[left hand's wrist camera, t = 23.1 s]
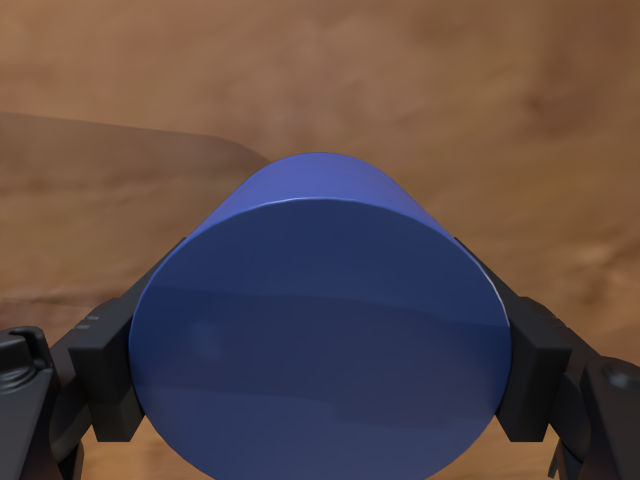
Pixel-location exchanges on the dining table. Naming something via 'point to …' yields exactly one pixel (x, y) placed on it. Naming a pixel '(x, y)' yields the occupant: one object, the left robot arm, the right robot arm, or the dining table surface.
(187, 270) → the cylinder
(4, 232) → the dining table surface
